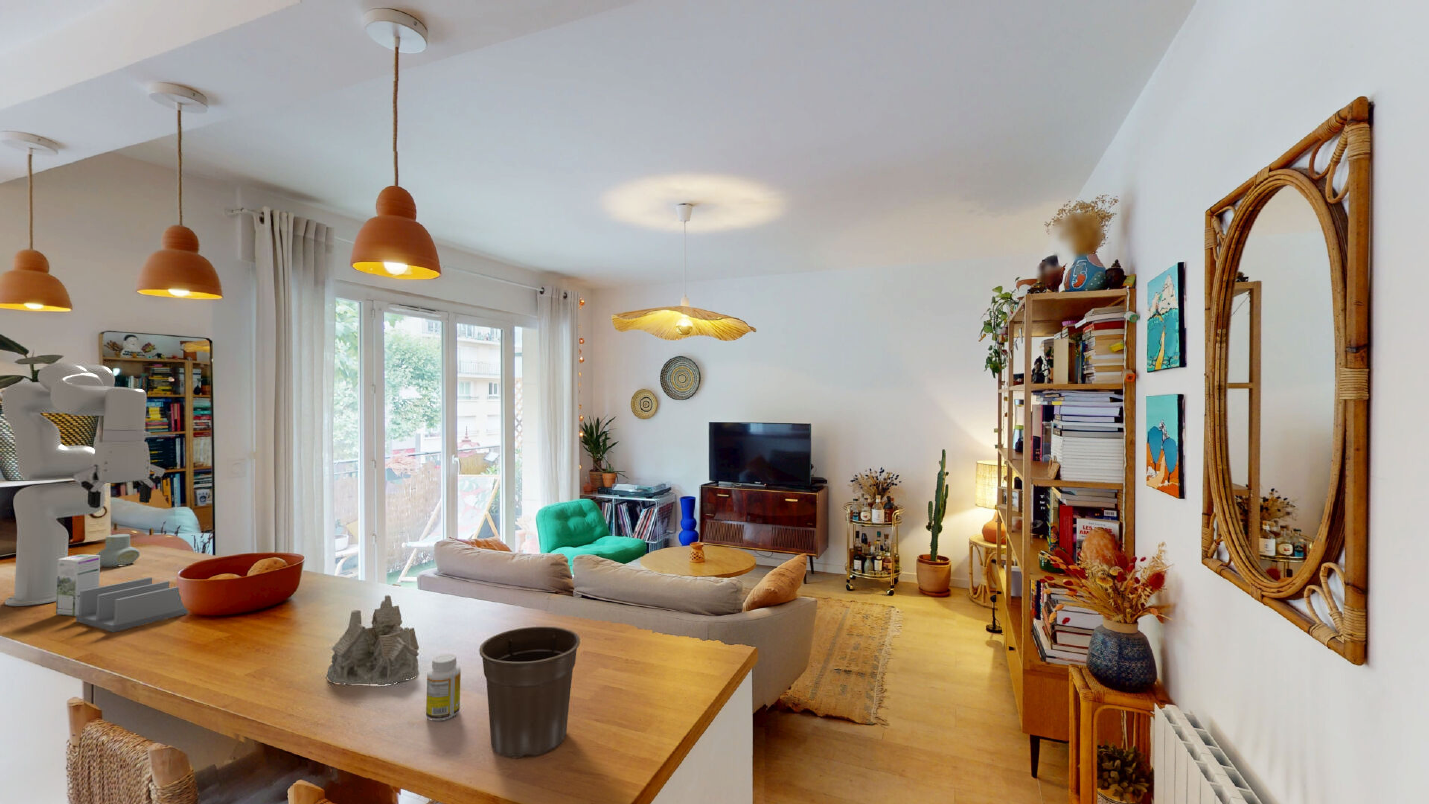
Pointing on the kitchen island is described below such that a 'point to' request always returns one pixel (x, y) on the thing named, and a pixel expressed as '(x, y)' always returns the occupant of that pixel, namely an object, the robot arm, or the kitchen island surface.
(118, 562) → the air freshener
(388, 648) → the ceramic cottage
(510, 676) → the plant pot
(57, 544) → the robot arm
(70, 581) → the syrup box
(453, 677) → the supplement bottle
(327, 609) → the kitchen island surface
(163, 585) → the slot rack
